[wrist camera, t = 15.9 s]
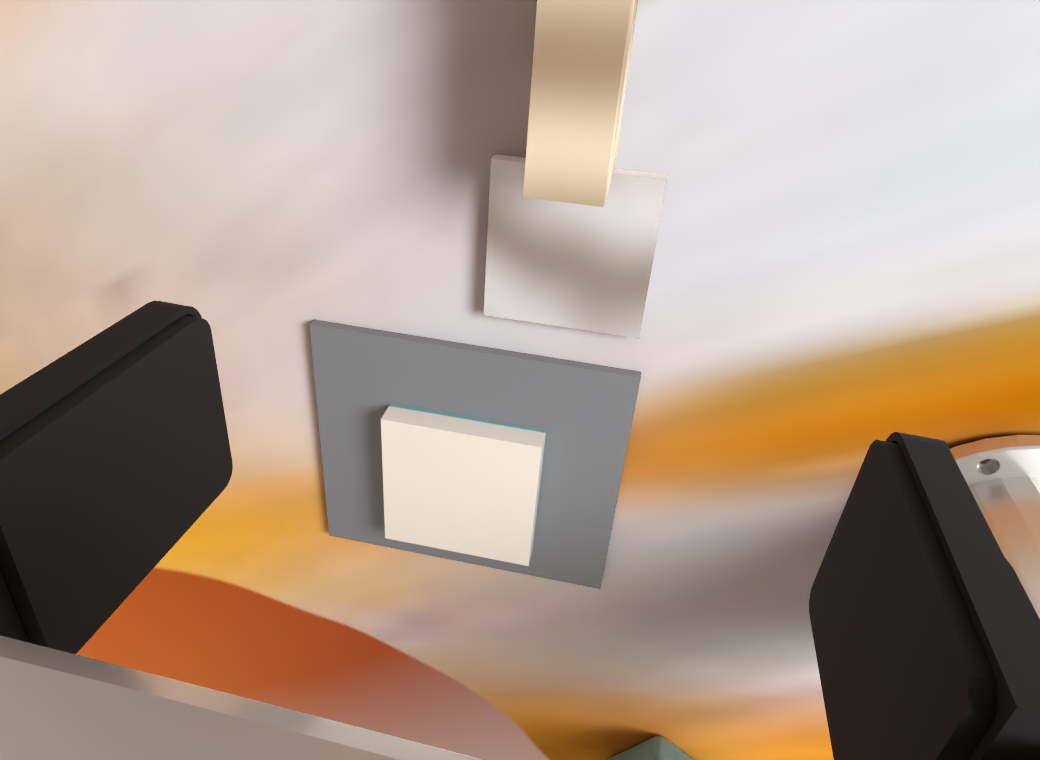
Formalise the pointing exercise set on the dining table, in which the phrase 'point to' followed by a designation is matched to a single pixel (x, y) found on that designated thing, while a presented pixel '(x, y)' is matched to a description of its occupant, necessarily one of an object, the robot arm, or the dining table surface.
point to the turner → (574, 184)
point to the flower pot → (653, 751)
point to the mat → (482, 395)
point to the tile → (461, 483)
